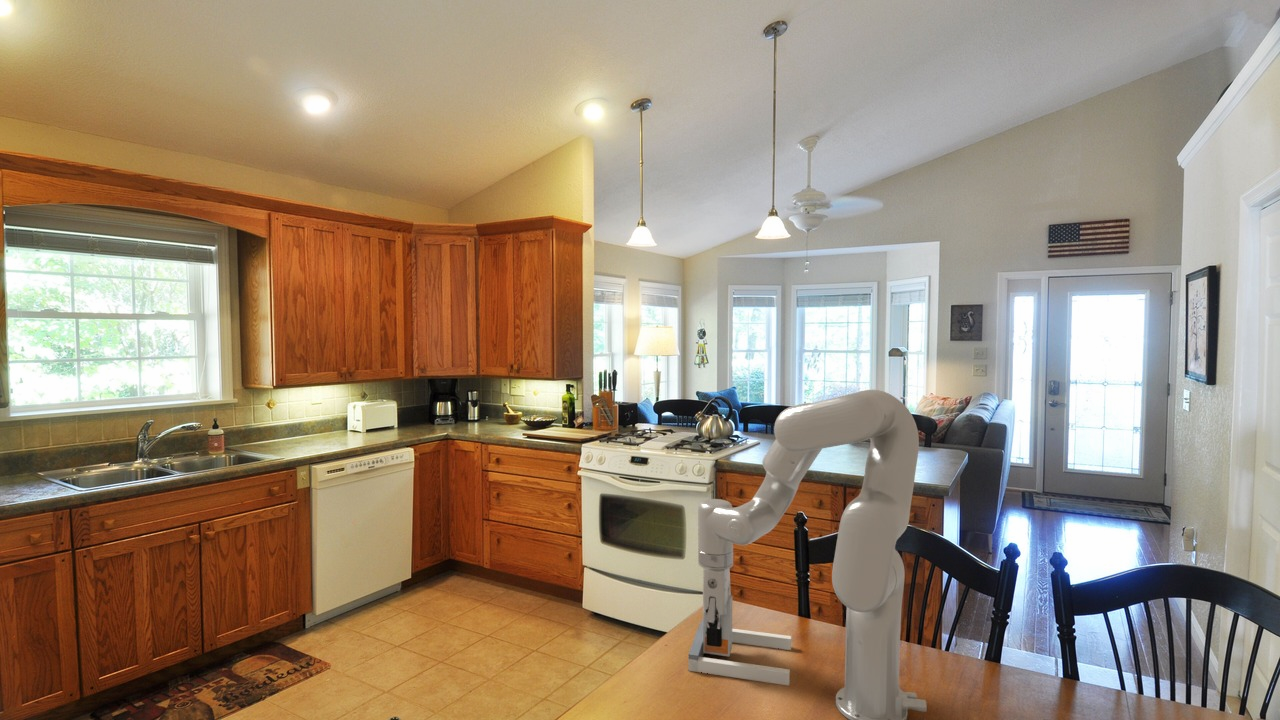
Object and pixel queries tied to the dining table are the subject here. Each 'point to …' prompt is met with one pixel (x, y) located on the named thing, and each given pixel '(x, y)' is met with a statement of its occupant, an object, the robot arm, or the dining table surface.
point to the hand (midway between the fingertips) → (715, 639)
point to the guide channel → (737, 668)
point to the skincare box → (726, 633)
